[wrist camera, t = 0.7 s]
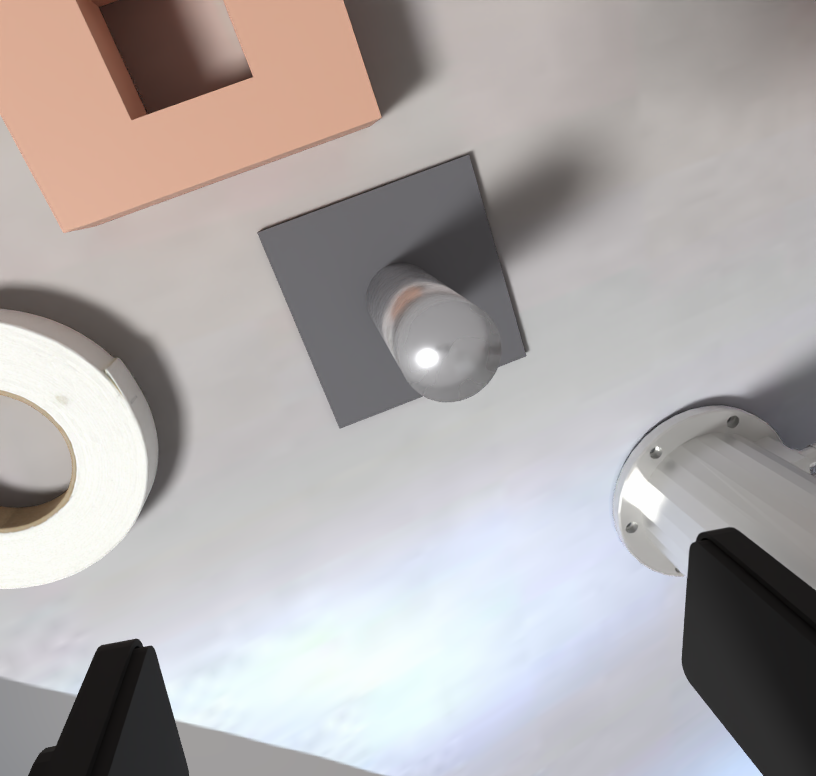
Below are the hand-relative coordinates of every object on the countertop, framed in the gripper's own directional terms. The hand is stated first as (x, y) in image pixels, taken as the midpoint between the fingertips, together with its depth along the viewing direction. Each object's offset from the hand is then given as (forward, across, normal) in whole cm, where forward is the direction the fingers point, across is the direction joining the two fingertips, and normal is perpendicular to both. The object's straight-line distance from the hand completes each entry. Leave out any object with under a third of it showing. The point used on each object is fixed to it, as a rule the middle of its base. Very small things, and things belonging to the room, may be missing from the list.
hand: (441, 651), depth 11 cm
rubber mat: (+26, -4, -1) cm, 27 cm away
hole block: (+26, +6, -14) cm, 30 cm away
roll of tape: (+27, +19, +4) cm, 33 cm away
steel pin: (+26, -4, -1) cm, 26 cm away
